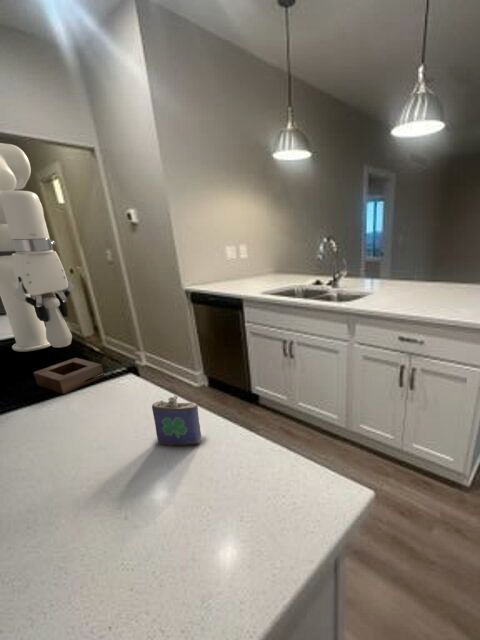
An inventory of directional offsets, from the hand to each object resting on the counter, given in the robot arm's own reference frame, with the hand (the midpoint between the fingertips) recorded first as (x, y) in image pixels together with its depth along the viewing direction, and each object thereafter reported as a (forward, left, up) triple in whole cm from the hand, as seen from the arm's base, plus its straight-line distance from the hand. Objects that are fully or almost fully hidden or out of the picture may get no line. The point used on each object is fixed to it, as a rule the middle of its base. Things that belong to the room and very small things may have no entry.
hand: (54, 317), depth 91 cm
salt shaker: (0, 0, -8) cm, 8 cm away
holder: (0, 0, -19) cm, 19 cm away
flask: (+49, -8, -19) cm, 53 cm away
